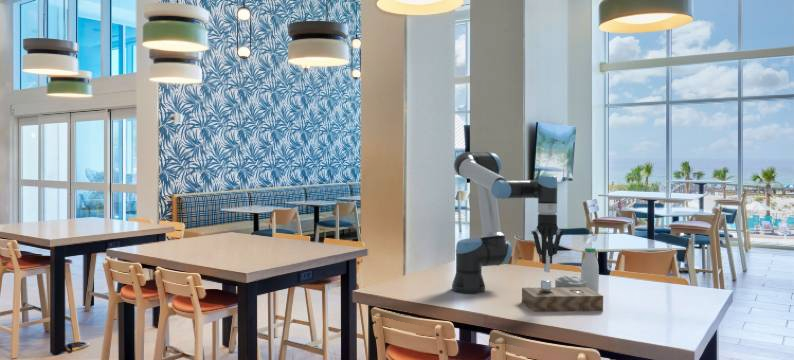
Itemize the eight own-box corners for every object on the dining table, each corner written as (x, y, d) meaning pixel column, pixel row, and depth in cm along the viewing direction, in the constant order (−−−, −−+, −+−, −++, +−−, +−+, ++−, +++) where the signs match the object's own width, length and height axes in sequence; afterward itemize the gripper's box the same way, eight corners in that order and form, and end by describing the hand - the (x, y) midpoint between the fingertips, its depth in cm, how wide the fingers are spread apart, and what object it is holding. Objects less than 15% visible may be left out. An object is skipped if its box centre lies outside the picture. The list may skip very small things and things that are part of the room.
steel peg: (542, 296, 231) (542, 281, 231) (539, 294, 235) (539, 279, 235) (552, 296, 231) (552, 281, 231) (548, 293, 235) (549, 279, 235)
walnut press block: (533, 311, 225) (534, 296, 225) (521, 301, 241) (522, 287, 240) (602, 311, 227) (603, 295, 227) (586, 301, 243) (586, 287, 243)
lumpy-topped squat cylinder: (576, 301, 243) (576, 281, 242) (549, 296, 252) (550, 276, 252) (589, 297, 250) (589, 278, 249) (562, 292, 259) (562, 273, 259)
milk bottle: (599, 294, 257) (600, 249, 256) (581, 293, 258) (582, 248, 258) (597, 290, 264) (598, 247, 264) (579, 289, 266) (580, 246, 265)
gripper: (534, 214, 228) (534, 273, 228) (566, 214, 229) (565, 273, 229) (528, 213, 235) (528, 270, 236) (559, 213, 236) (559, 269, 237)
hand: (546, 271), depth 233 cm, fingers closed
